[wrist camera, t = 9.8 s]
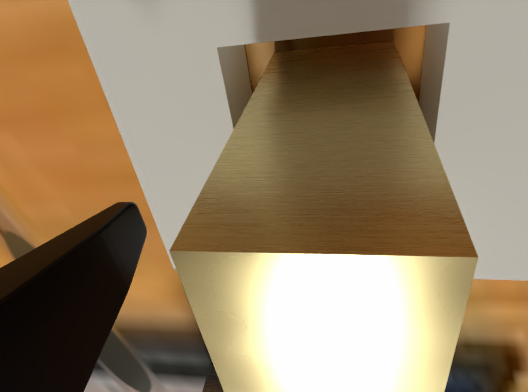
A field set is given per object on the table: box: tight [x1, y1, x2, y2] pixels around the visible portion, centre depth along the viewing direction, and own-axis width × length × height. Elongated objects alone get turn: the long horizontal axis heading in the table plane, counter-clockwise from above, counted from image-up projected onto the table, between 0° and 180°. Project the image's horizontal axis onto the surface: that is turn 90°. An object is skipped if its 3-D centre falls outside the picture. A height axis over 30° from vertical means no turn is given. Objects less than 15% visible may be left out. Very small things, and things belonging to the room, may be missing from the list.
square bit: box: [169, 40, 478, 392], centre depth 10 cm, size 4×4×10 cm
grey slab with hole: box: [68, 0, 528, 281], centre depth 13 cm, size 14×12×3 cm
